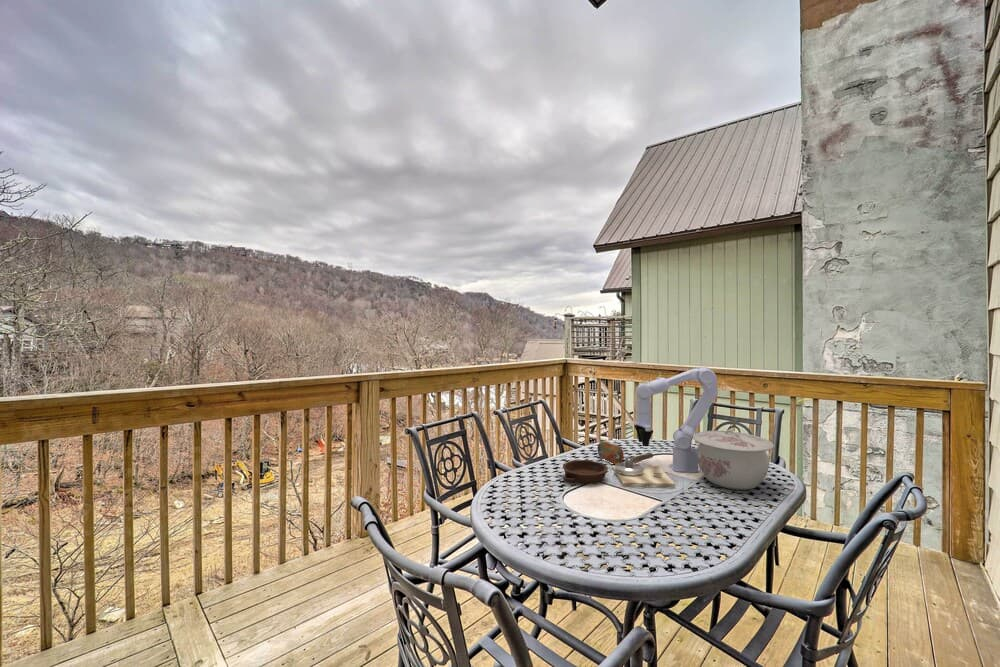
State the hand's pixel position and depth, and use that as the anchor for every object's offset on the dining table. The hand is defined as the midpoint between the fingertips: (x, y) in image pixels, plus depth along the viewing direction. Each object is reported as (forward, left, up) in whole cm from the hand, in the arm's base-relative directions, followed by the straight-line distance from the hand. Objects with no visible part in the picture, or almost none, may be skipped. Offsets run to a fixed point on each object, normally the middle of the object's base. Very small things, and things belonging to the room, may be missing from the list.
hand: (643, 443), depth 186 cm
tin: (+13, -5, -10) cm, 17 cm away
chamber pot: (-28, +19, -10) cm, 35 cm away
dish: (+27, +16, -10) cm, 33 cm away
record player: (+5, +15, -9) cm, 18 cm away
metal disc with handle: (+6, +10, -8) cm, 14 cm away
